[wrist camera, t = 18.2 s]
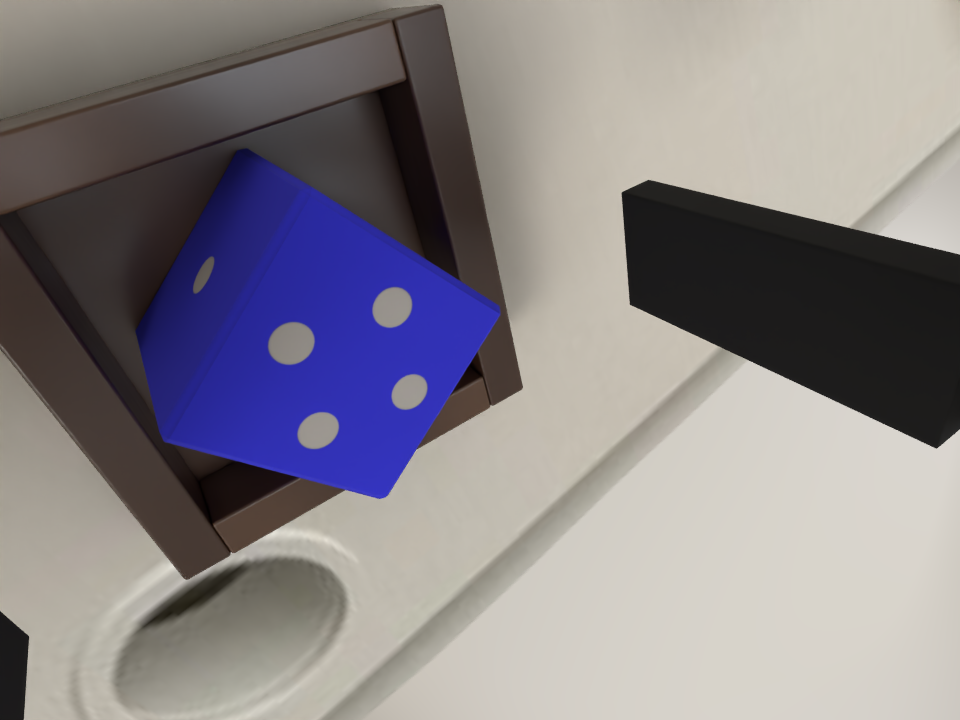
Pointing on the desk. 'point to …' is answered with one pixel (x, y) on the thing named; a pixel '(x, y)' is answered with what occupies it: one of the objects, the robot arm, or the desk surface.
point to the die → (304, 336)
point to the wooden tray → (175, 211)
